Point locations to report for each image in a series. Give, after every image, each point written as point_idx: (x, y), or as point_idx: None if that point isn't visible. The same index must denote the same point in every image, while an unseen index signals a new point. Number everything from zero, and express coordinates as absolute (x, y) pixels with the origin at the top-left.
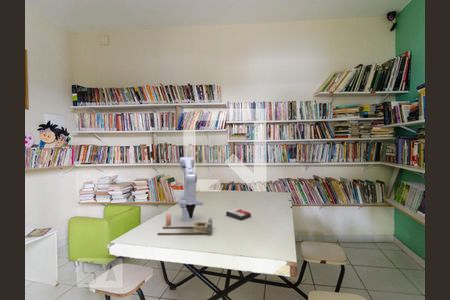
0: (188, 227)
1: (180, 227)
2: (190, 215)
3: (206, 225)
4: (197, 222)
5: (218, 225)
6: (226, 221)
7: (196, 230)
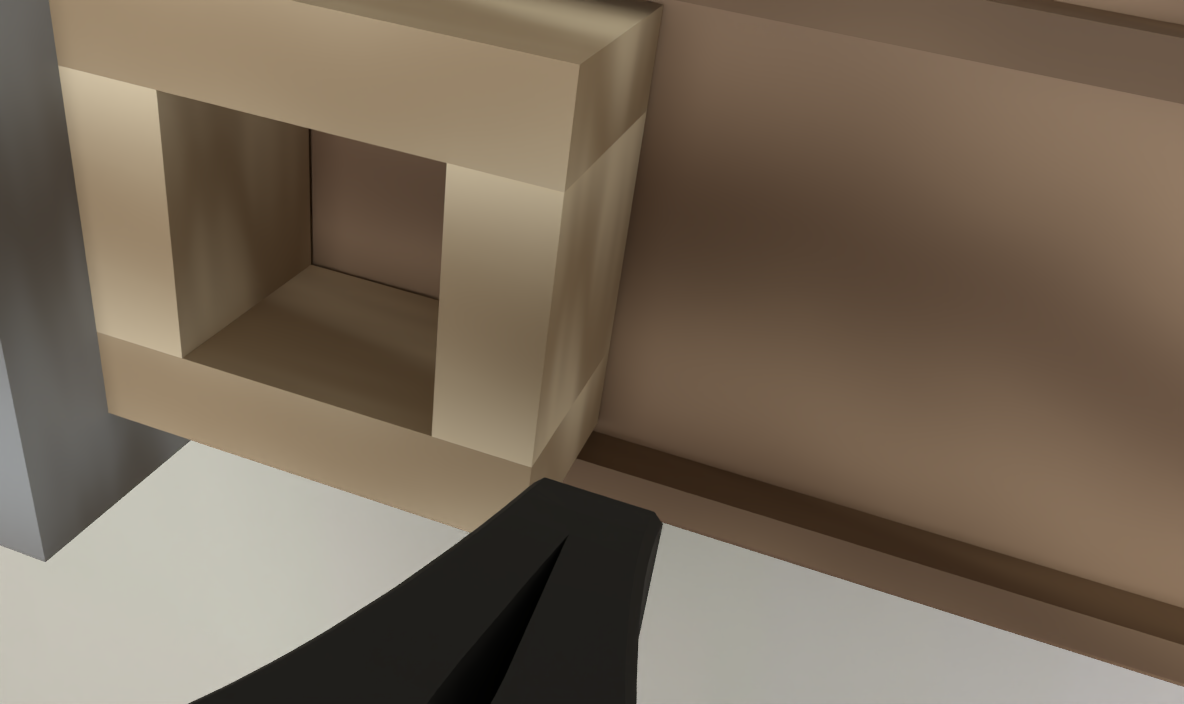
0: (805, 521)
1: (1082, 606)
2: (555, 574)
3: (113, 129)
4: (452, 501)
5: (113, 525)
6: (5, 650)
7: (510, 7)
